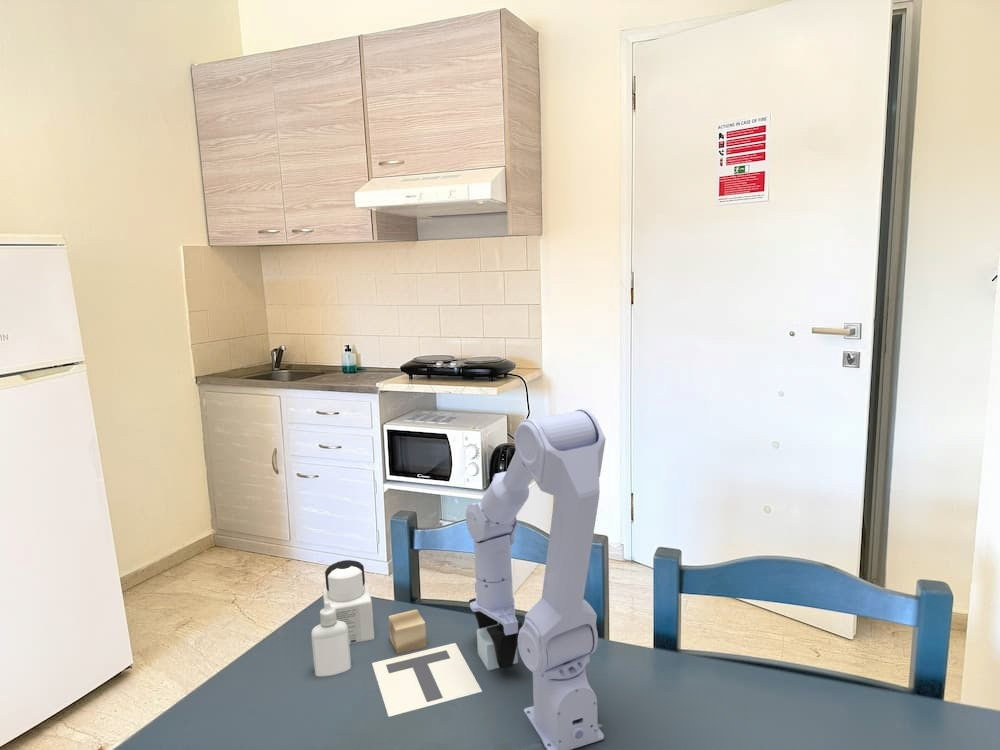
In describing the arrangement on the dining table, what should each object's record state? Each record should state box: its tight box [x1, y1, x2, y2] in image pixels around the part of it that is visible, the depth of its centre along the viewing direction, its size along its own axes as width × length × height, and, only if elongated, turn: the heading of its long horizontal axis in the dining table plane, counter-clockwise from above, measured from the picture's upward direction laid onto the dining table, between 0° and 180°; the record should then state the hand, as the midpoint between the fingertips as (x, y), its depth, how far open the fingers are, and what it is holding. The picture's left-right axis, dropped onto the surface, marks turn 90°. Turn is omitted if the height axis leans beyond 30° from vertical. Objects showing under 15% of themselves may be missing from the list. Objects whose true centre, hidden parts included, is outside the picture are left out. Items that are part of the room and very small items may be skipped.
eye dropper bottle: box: [310, 601, 352, 677], centre depth 105 cm, size 4×6×12 cm
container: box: [322, 559, 375, 645], centre depth 116 cm, size 8×8×13 cm
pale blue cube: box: [476, 623, 519, 671], centre depth 107 cm, size 5×5×5 cm
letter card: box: [371, 642, 483, 718], centre depth 103 cm, size 14×14×1 cm
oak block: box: [388, 609, 428, 655], centre depth 112 cm, size 5×5×5 cm
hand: (497, 653), depth 107 cm, fingers open, 7 cm apart
